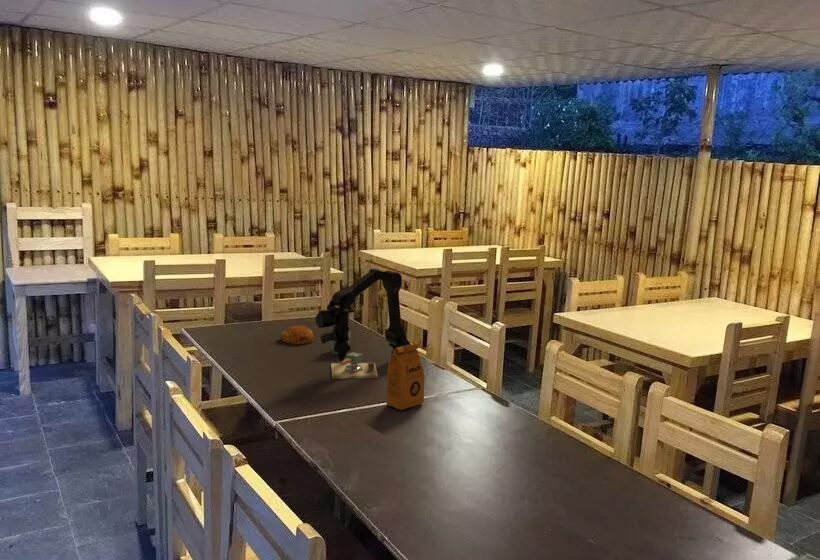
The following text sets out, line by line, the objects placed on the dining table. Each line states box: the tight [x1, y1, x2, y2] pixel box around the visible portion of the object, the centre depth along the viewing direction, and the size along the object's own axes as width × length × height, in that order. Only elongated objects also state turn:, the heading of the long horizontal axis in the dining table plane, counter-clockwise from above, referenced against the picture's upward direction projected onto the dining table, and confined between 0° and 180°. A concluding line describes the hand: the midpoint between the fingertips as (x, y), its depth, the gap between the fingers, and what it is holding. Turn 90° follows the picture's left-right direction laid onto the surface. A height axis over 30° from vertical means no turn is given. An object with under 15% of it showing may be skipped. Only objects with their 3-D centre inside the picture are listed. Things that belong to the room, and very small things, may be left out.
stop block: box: [368, 361, 375, 371], centre depth 265 cm, size 2×2×3 cm
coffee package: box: [386, 342, 425, 411], centre depth 229 cm, size 10×12×22 cm
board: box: [330, 362, 379, 379], centre depth 266 cm, size 18×16×1 cm
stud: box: [345, 363, 363, 372], centre depth 266 cm, size 7×7×3 cm
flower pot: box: [328, 330, 351, 355], centre depth 290 cm, size 9×9×9 cm
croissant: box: [279, 325, 314, 345], centre depth 307 cm, size 14×16×8 cm
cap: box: [339, 351, 364, 366], centre depth 262 cm, size 11×5×3 cm, turn 151°
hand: (341, 362), depth 261 cm, fingers closed
